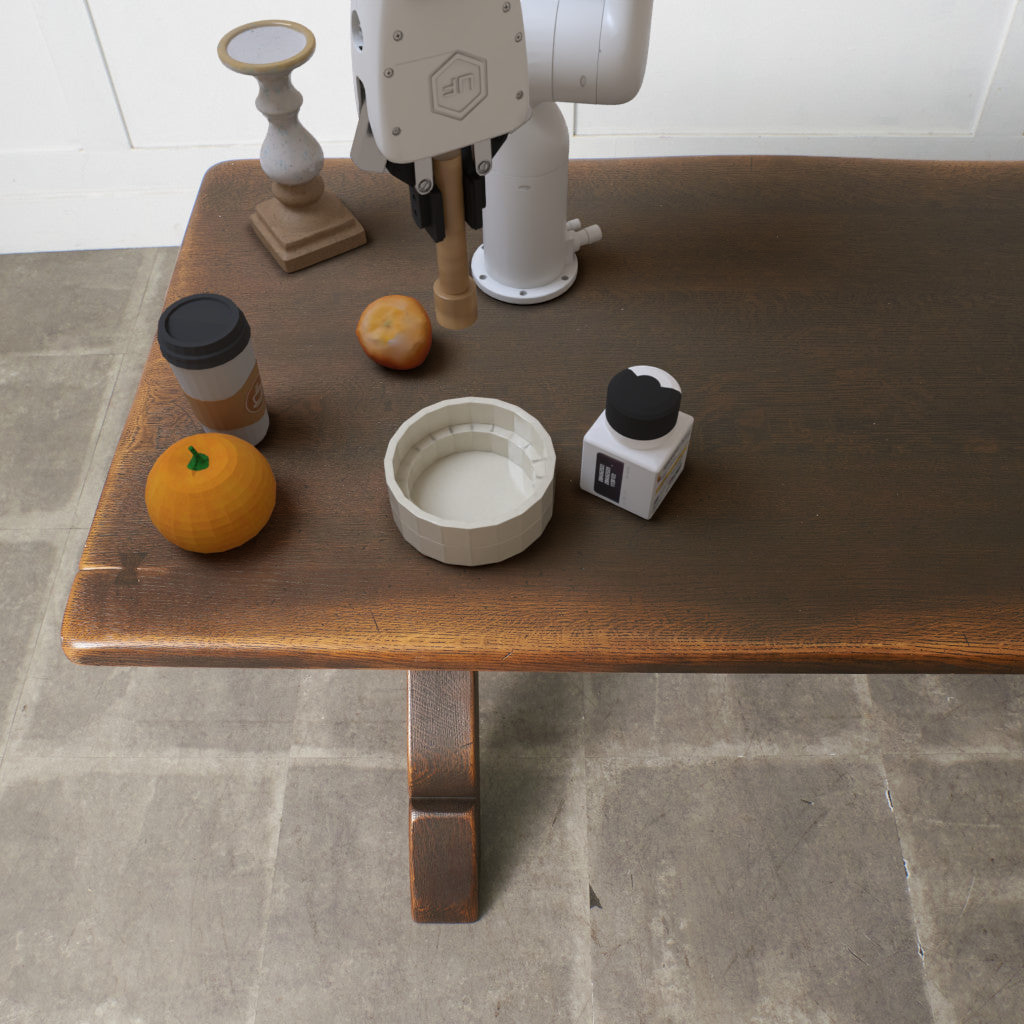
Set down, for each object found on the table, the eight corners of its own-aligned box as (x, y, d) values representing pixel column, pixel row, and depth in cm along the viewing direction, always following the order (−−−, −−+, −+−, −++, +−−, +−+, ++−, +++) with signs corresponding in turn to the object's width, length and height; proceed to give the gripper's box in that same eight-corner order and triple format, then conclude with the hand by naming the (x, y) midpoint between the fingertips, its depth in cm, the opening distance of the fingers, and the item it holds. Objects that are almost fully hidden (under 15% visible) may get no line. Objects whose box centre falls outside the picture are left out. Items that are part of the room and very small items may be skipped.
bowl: (506, 420, 97) (505, 376, 92) (583, 527, 89) (587, 485, 83) (367, 477, 93) (358, 433, 87) (435, 595, 84) (429, 554, 79)
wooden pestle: (466, 297, 73) (455, 132, 62) (484, 321, 72) (477, 156, 60) (429, 311, 72) (411, 145, 61) (447, 335, 71) (432, 170, 60)
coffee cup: (263, 466, 94) (224, 357, 82) (185, 454, 95) (135, 344, 83) (291, 406, 98) (258, 295, 86) (217, 395, 99) (174, 284, 87)
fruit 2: (452, 318, 104) (433, 294, 96) (432, 386, 104) (411, 366, 96) (385, 303, 106) (361, 278, 98) (365, 370, 105) (340, 349, 97)
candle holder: (286, 274, 111) (236, 80, 92) (250, 227, 117) (196, 35, 98) (368, 242, 115) (337, 49, 95) (329, 198, 120) (292, 7, 101)
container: (648, 522, 89) (665, 431, 78) (578, 489, 91) (585, 396, 81) (684, 468, 93) (704, 375, 82) (615, 438, 95) (626, 343, 85)
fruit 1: (135, 547, 88) (96, 481, 80) (202, 457, 94) (171, 387, 86) (245, 583, 85) (215, 518, 77) (305, 488, 92) (284, 419, 84)
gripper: (314, -1, 46) (365, 292, 61) (590, -69, 51) (576, 220, 65) (264, -57, 50) (323, 230, 65) (524, -116, 55) (525, 166, 69)
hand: (450, 223), depth 65 cm, fingers closed on wooden pestle, 2 cm apart
